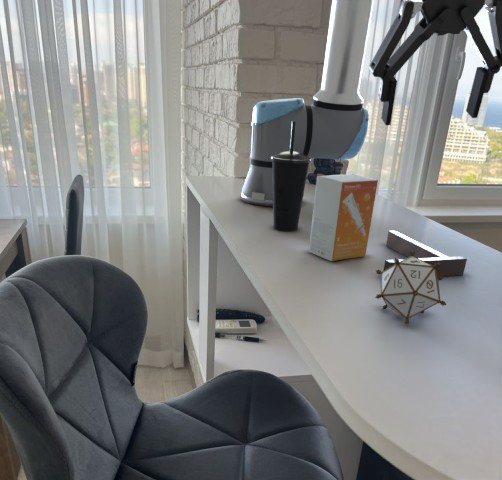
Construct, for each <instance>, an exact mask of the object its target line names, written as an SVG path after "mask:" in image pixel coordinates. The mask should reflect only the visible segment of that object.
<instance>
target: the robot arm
mask: <svg viewBox="0 0 502 480" xmlns="http://www.w3.org/2000/svg"><path fill="white" fill-rule="evenodd" d="M374 2H375V1H374V0H331V7H330V14H329V23H328V31H327V40H326V46H325V53H324V60H323V61H324V62H323V69H322V77H321V85H320V88H319V90H318V91H317V92H316V93H315V94H313V97H312V104H305V101H304V98H303V97H293V98H277V99H270V100H262V101H258V102H257V103H255V105H254V106H253V109H252V117H251V118H252V119H251V122H250V126H251V139H250V140H251V142H250V155H249V156H250V159H249V160H250V161H249V169H248V171H247V175H246V177H245V180H244V183H243V186H242V189H241V193H240V195H241V196H240V200H241V201H243V202H245V203H248V204H250V205H255V206H262V207H272V208H273V172H272V160H271V156H274V155H276V154H278V153H280V152H283V151H290V142H291V130H292V122H296V125H295V137H294V149H293V151H296V152H300V153H302V154H304V155H305V156H307V157H308V158H310V159H324V160H334V161H339V160H352V159H353V158H355V157H357V155H358V154H359V153H360V151H361V149H362V148H363V146H364V143H365V141H366V138H367V134H368V131H369V121H370V116H369V111H368V110H367V108H365V107H364V98H363V97H362V96H361V94H360V91H359V90H360V85H361V78H362V73H363V66H364V60H365V54H366V49H367V42H368V38H369V30H370V25H371V18H372V11H373V7H374ZM483 7H484V9H485V11H487V13H488V15H487V16H488V21H489V26H490V31H491V37H492V42H493V47H494V53H495V55H494V54H493V52H492V50H491V49H490V47H489V45H488V43H487V41H486V39H485V37H484V35H483V33H482V31H481V28H480V26H479V24H478V22H477V21H476V19H475V18H476V16H477V15H478V14H479V13H480V11H481V10H482V9H483ZM419 12H420V13H421V15H422V18H421V19H420V20H419V21H418V22H417V23H416V25H415V26H414V28H413V31H412V32H411V33H410V34H409V35H408V37H406V39H405V40H404V41H403V43H401V45H400V46H399V47H398V48H397V46H398V44H399V43H400V41H401V39H402V37H403V36H404V34H405V33H406V31H407V30H408V27H409V25H410V22H411V21H412V19H414V18H415V17H416V15H417V13H419ZM463 31H464V32H465V34H466V36H467V38H468V39H469V42H470V43H471V45H472V47H473V48H474V51H475V52H476V54H477V55H478V58H479V59H480V61H481V63H482V65H483V66H477V67H476V70H475V72H474V73H475V74H474V78H473V82H472V85H471V89H470V94H469V97H468V102H467V105H466V109H465V112H466V113H467V114H468V115H469V116H470V118H472V119H478V116H479V112H480V109H481V106H482V103H483V102H482V101H483V98H484V94H488V93H489V92H490V90H491V88H492V85H493V81H494V76H495V75H496V74H498V73H499V72H500V71H501V68H502V0H400V1H399V5H398V9H397V13H396V16H395V18H394V20H393V21H392V24H391V25H390V27H389V29H388V31H387V32H386V34H385V36H384V38H383V40H382V42H381V43H380V45H379V47H378V50H377V51H376V53H375V55H374V56H373V58H372V60H371V61H370V64H369V66H368V69H369V71H370V73H371V74H372V76H373V77H374V78H380V80H379V86H378V87H379V88H378V93H377V94H378V99H379V100H380V102H381V103H382V109H381V110H382V111H381V116H380V117H381V120H382V122H383V123H384V125H385V126H391V124H392V118H393V112H394V111H393V110H394V104H395V99H396V91H397V85H398V80H397V79H396V77H395V76H396V75H397V73H398V72H399V71H400V70H401V69H402V68H403V66H404V65H405V64H406V63H407V62H408V61H409V60H410V58H412V56H413V55H414V54H415V53H416V52H417V51H418V50H419V48H420V47H421V46H422V45H423V44H424V43H425V42H426V41H428V40H429V39H430V38H431V37H432V36H433V35H436V36H437V37H439V36H445V35H447V34H451V35H459V34H460V33H461V32H463ZM396 48H397V49H396ZM395 50H396V51H395Z"/></svg>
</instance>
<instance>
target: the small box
mask: <svg viewBox="0 0 502 480" xmlns="http://www.w3.org/2000/svg"><path fill="white" fill-rule="evenodd" d="M378 182H379V180H378V179H375V178H371V177H367V176H363V175H359V174H354V173H349V174H347V173H346V174H329V175H316V183H315V192H314V200H313V201H314V202H313V210H312V218H311V219H312V220H311V227H310V237H309V245H308V246H309V247H308V252H309V253H310V254H313V255H315V256H318V257H320V258H322V259H325V260H327V261H330V262H336V261H339V260H341V261H342V260H347V259H355V258H360V257H361V258H362V257H366V255H367V248H368V244H369V243H368V242H369V238H370V231H371V226H372V218H373V213H374V207H375V200H376V195H377V189H378Z"/></svg>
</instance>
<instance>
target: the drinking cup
mask: <svg viewBox="0 0 502 480" xmlns="http://www.w3.org/2000/svg"><path fill="white" fill-rule="evenodd" d="M295 125H296V122H292V130H291V142H290V151H283V152H280V153H278V154H276V155H274V156H271V160H272V172H273V207H272V214H273V215H272V218H273V219H272V223H273V229H274V230H277V231H281V232H294V231H297V230H298V226H299V220H300V217H301V216H300V215H301V210H302V204H303V199H304V193H305V188H306V184H307V183H306V182H307V176H308V171H309V166H310V163H311V162H312V158H308V157H307V156H305V155H304V154H302V153H300V152H296V151H293V149H294V137H295Z"/></svg>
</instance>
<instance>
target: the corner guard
mask: <svg viewBox="0 0 502 480" xmlns="http://www.w3.org/2000/svg"><path fill="white" fill-rule="evenodd" d="M385 246H386V247H388V248H390V249H391V250H394V251H395V252H397V253H399V254H400V255H403V256H405V257H406V258H408V257H410V256H411V251H412V250H414V252H415V255H414V257H416V258H418V259H420V260H422V261H424V262H426V263H429V264H431V265H433V266H434V265H435V264H436V262H437V263H439V262H440V266H438V267H436V272H437V277H438V276H442V277H443V278H444V277H459V276H464V273H465V269H466V264H467V261H468V259H467V258H466V257H464V256H459V255H458V256H447V255H446V254H443V253H441V252H440V251H437V250H435V249H433V248H432V247H430V246H427V245H425V244H423V243H421V242H419V241H417V240H415V239H413V238H411V237H409V236H407V235H405V234H403V233H400V232H399V231H396V230H388V233H387V237H386V243H385ZM397 259H398V260H399V262H400V261H402V260H404V259H405V258H400V259H399V258H397ZM394 260H395V259H385V260H384V265H383V269H382V270H383V271H385V270H386V269H388V268H390V267H391V266H393V265H395V264H396V263H395V262H394ZM383 271H382V272H383Z"/></svg>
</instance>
